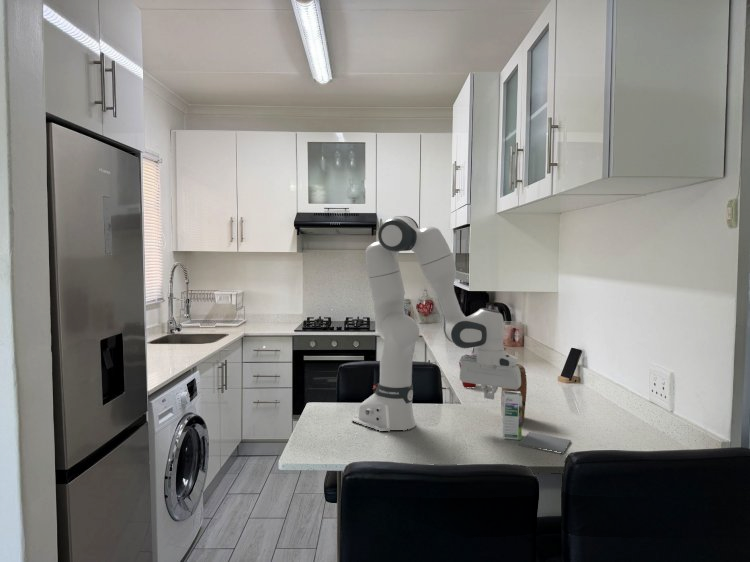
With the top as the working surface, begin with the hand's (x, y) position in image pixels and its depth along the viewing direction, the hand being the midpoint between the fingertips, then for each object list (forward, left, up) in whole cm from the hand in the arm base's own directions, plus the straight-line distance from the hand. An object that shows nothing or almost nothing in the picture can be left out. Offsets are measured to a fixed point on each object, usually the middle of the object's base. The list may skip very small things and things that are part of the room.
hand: (489, 398), depth 163 cm
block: (+3, +17, -12) cm, 21 cm away
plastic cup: (-27, +52, -12) cm, 60 cm away
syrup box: (+8, 0, -12) cm, 14 cm away
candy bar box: (-33, +85, -12) cm, 92 cm away
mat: (+18, 0, -11) cm, 22 cm away
